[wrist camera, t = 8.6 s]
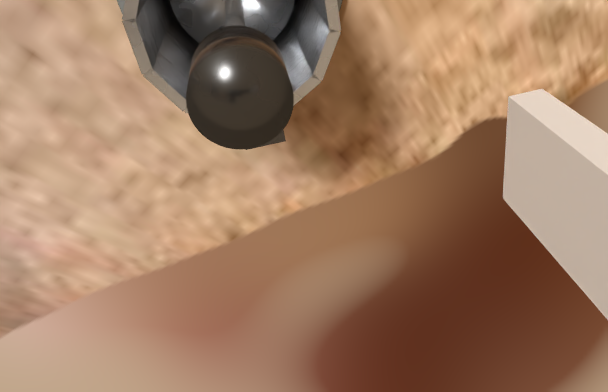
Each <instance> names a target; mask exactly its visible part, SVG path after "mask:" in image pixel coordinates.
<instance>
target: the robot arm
mask: <svg viewBox="0 0 608 392" xmlns="http://www.w3.org/2000/svg"><path fill="white" fill-rule="evenodd" d="M503 199H504V200H505V201H506V202H507V203H508V204H509V206H510V207H511V208H512V209H513V210H514V211H515V213H516V214H517V215H518V216H519V217H520V218H521V220H522V221H523V222H524V223H525V224H526V225H527V227H528V228H529V229H530V230H531V231H532V232H533V234H534V235H535V236H536V237H537V238H538V239H539V240H540V242H541V243H542V244H543V245H544V246H545V248H547V250H548V251H549V252H550V253H551V254H552V256H553V257H554V258H555V259H556V260H557V261H558V263H559V264H560V265H561V266H562V267H563V268H564V270H565V271H566V272H567V273H568V274H569V275H570V277H571V278H572V279H573V280H574V281H575V282H576V283H577V285H578V286H579V287H580V288H581V289H582V290H583V292H585V294H586V295H587V296H588V297H589V299H590V300H591V301H592V302H593V303H594V304H595V306H596V307H597V308H598V309H599V310H600V311H601V312H602V314H603V315H604V316H605V317H606V318H607V319H608V134H607V133H605V132H604V131H603V130H601V129H600V128H598V127H597V126H596V125H594V124H593V123H591V122H590V121H588V120H587V119H585V118H584V117H583V116H581V115H579V114H578V113H577V112H575V111H574V110H572V109H571V108H569V107H568V106H567V105H565V104H564V103H562V102H561V101H559V100H558V99H556V98H555V97H553V96H552V95H551V94H549V93H548V92H546V91H545V90H543V89H539V90H535V91H530V92H526V93H521V94H517V95H513V96H509V97H508V115H507V133H506V150H505V168H504V185H503Z"/></svg>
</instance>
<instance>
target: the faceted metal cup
mask: <svg viewBox="0 0 608 392" xmlns="http://www.w3.org/2000/svg"><path fill="white" fill-rule="evenodd" d="M122 19H123V21H122V22H123V25H124V27H125V30H126V33H127V35H128V38H129V41H130V44H131V46H132V49H133V52H134V54H135V57H136V60H137V62H138V65H139V68H140V70H141V73H142V74H143V76H144V77H145V78H146V79H147V80H148V81H149V82H151V83H152V84H153V85H154V86H155V87H156V88H157V89H158V90H159V91H161V92H162V93H163V94H164V95H165V96H166V97H167V98H168V99H170V100H171V101H172V102H173V103H174V104H175V105H176V106H177V107H179V108H180V109H181V110H182V111H184V110H185V113H188V110H187V105H186V92H187V85H188V79H189V73H190V67H191V61H192V57H193V54H194V52H195V50H196V48H197V46H198V45H199V44H200V43H199V42H198V41H196V40H195V39H194V38H193V37H191V36H190V35H189V34H188V33H187V32H186V30H185V29H184V28H183V27H182V26H181V24H180V23H179V21H178V19H177V18H176V16H175V14H174V12H173V9H172V6H171V3H170V0H125V4H124V10H123V16H122ZM340 31H341V26H340V18H339V11H338V4H337V0H294V6H293V9H292V13H291V15H290V18H289V20H288V22H287V23H286V25H285V27H284V28H283V29H282V31H281V32H280V33H279V34H278V35H277V36H276V37H275V38H274V39H273V40H272V41H273V42H274V43H275V44H276V45H277V47H278V48H279V50H280V52H281V54H282V56H283V59H284V62H285V66H286V69H287V72H288V75H289V79H290V82H291V85H292V89H293V95H294V104H293V106H294V105H295V104H296V103H297V102H299V101H300V100H301V99H302V98H303V97H304V96H306V95H307V94H308V93H309V92H310V91H311V90H313V89H314V88H315V87H316V86H317V85H318V84H320V83H321V81H322V80H323V78H324V75H325V72H326V70H327V67H328V65H329V62H330V59H331V57H332V54H333V52H334V49H335V46H336V44H337V41H338V39H339V36H340V33H341V32H340ZM283 141H286V140H285V136H284V131H283V130H282V131H281V132H280V133H279V134H278V135H277V136H276V137H275V138H274V139H272V140H271V141H269V142H267V143H266V144H263V145H261V146H265V145H270V144H274V143H279V142H283ZM261 146H258V147H261ZM255 148H256V147H255ZM249 149H252V148H249ZM246 150H247V149H246Z"/></svg>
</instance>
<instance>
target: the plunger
mask: <svg viewBox="0 0 608 392" xmlns="http://www.w3.org/2000/svg"><path fill="white" fill-rule="evenodd" d="M170 3H171V6H172V9H173V12H174V14H175V16H176V18H177V19H178V21H179V23H180V24H181V26H182V27H183V28H184V29H185V30H186V32H187V33H188V34H189V35H190V36H191V37H193V38H194V39H195V40H196V41H198V42H199V43H200V44H199V45H198V46H197V48H196V50H195V52H194V54H193V57H192V61H191V67H190V73H189V79H188V85H187V92H186V105H187V110H188V113H189V116H190V118H191V120H192V122H193V124H194V125H195V127H196V128H197V129H198V131H199V132H200V133H201V134H202V135H203V136H205V137H206V138H207V139H209V140H210V141H212V142H214V143H216V144H218V145H220V146H223V147H226V148H232V149H249V148H255V147H258V146H261V145H263V144H266V143H267V142H269V141H271V140H272V139H274V138H275V137H276V136H277V135H278V134H279V133H280V132H281V131H282V130H283V129H284V128H285V126H286V125H287V123H288V121H289V119H290V117H291V114H292V110H293V104H294V95H293V89H292V85H291V82H290V79H289V75H288V72H287V69H286V66H285V62H284V59H283V56H282V54H281V52H280V50H279V48H278V47H277V45H276V44H275V43H274V42H273V41H272V40H273V39H274V38H275V37H276V36H277V35H278V34H279V33H280V32H281V31H282V29H283V28H284V27H285V25H286V23H287V22H288V20H289V18H290V15H291V13H292V9H293V6H294V0H170Z"/></svg>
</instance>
